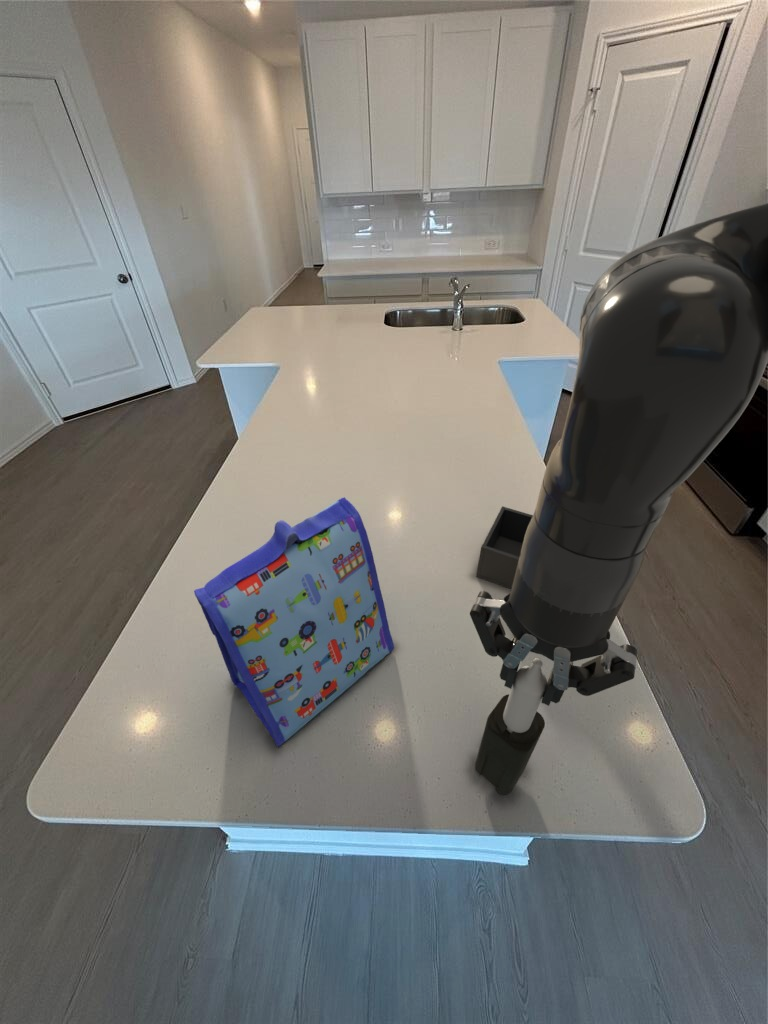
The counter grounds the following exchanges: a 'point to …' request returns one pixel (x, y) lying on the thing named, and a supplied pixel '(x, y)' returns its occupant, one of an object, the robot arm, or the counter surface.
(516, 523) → the bin
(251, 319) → the counter surface
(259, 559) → the lunch bag
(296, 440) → the counter surface
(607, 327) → the robot arm
